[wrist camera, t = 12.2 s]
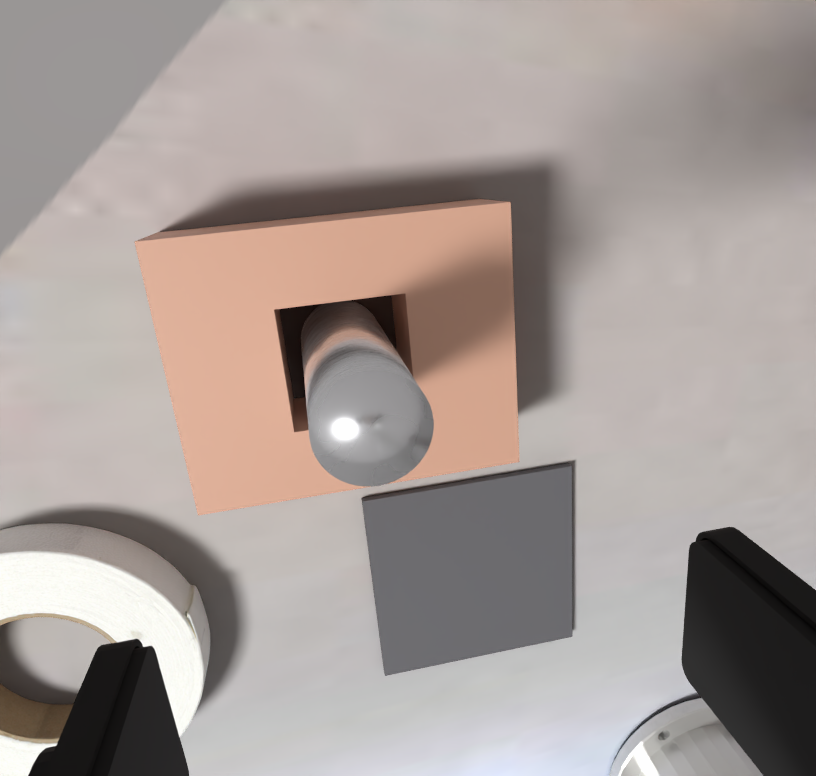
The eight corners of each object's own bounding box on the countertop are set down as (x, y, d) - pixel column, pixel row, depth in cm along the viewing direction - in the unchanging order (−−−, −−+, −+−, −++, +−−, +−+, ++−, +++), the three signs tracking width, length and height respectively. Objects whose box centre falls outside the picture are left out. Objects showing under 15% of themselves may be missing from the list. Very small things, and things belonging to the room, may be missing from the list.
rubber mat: (569, 463, 36) (571, 466, 35) (569, 632, 40) (572, 636, 39) (361, 498, 34) (362, 501, 34) (384, 670, 38) (385, 675, 38)
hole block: (479, 198, 30) (510, 202, 26) (490, 426, 34) (519, 462, 30) (158, 232, 28) (134, 241, 24) (210, 471, 32) (198, 515, 28)
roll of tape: (63, 793, 37) (45, 841, 34) (-169, 640, 32) (-211, 683, 29) (268, 645, 36) (266, 681, 34) (67, 461, 31) (46, 488, 28)
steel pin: (376, 294, 31) (428, 361, 19) (385, 371, 32) (438, 475, 21) (295, 305, 30) (300, 379, 19) (307, 383, 31) (318, 495, 20)
